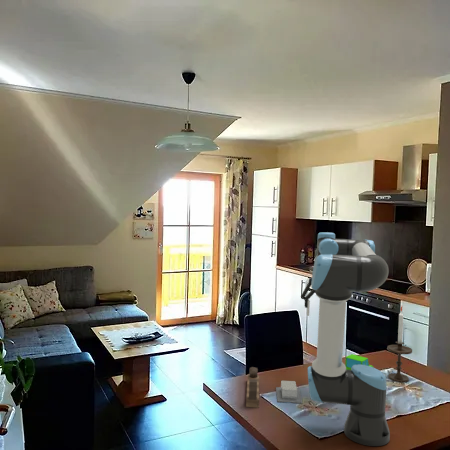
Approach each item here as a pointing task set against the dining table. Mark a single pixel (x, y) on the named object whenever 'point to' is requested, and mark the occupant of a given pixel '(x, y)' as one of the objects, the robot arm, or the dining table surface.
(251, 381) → the plane body
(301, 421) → the dining table surface
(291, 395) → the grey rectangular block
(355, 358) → the toy block
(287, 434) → the dining table surface
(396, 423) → the dining table surface
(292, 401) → the grey mat
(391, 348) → the candlestick
